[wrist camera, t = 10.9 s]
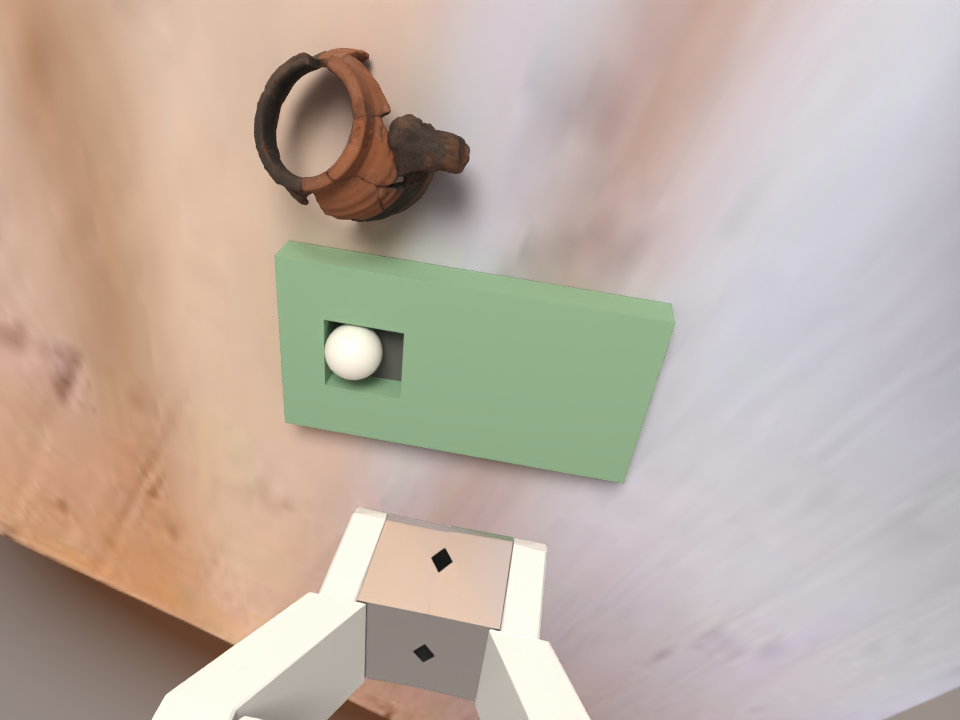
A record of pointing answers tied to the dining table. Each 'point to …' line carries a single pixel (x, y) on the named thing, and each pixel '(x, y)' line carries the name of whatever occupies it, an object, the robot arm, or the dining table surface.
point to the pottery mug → (359, 145)
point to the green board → (471, 360)
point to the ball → (353, 351)
